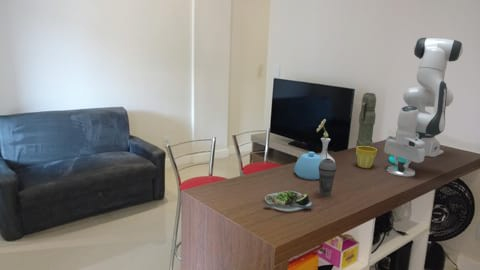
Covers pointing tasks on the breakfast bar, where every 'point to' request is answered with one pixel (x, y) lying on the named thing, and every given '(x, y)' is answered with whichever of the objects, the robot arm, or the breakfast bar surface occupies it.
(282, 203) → the salad plate
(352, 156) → the breakfast bar surface
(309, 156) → the sugar bowl
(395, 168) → the steel lid
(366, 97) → the olive green textured cylinder
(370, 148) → the plant pot
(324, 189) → the beverage cup
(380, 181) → the breakfast bar surface
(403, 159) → the donuts
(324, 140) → the flower in vase
